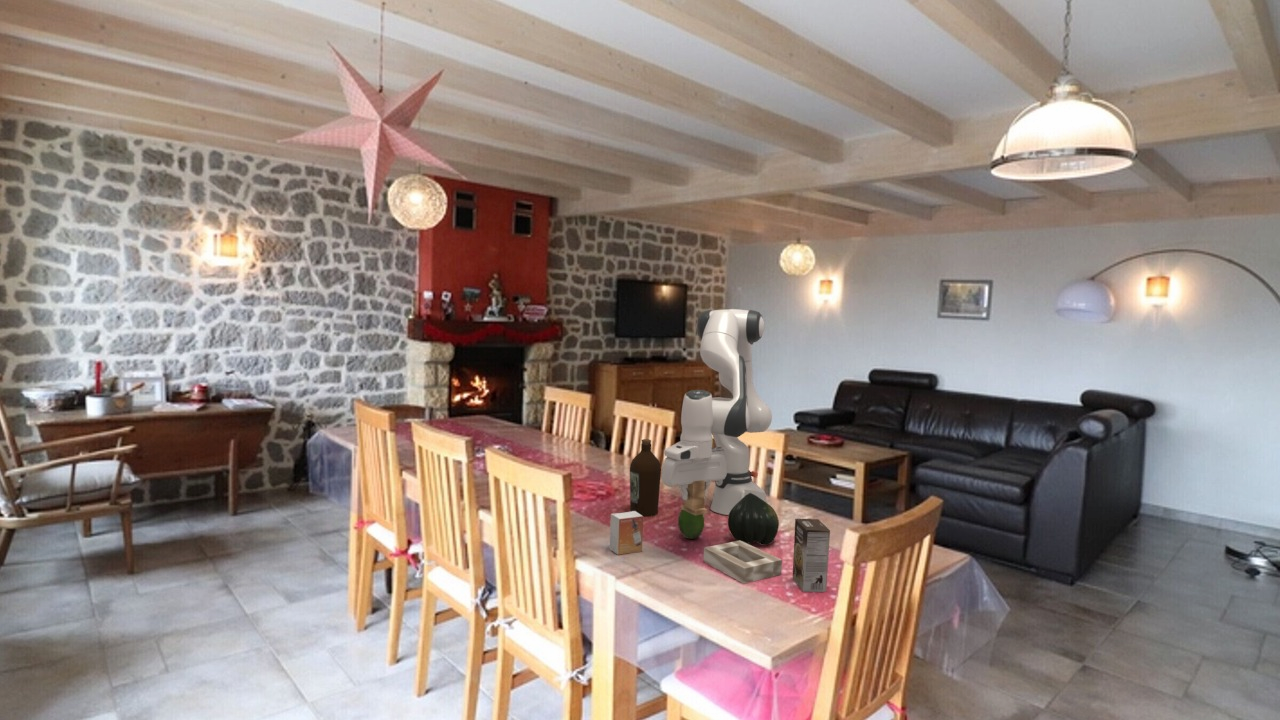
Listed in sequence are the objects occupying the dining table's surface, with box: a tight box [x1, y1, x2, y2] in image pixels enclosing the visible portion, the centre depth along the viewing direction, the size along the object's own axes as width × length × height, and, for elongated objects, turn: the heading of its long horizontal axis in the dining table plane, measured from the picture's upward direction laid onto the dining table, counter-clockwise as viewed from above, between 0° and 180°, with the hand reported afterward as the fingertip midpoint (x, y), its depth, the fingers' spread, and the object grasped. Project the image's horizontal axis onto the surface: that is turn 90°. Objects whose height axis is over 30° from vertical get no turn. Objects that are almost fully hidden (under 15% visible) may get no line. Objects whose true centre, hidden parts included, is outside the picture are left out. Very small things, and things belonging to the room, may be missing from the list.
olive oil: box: [629, 438, 662, 518], centre depth 233 cm, size 11×11×25 cm
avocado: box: [677, 509, 705, 540], centre depth 210 cm, size 8×8×12 cm
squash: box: [727, 493, 780, 546], centre depth 209 cm, size 14×15×15 cm
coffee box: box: [792, 518, 831, 593], centre depth 177 cm, size 9×6×16 cm
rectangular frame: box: [702, 540, 783, 584], centre depth 187 cm, size 13×17×4 cm
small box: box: [609, 511, 644, 556], centre depth 198 cm, size 8×6×10 cm
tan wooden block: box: [680, 480, 708, 515], centre depth 192 cm, size 4×7×9 cm, turn 32°
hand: (694, 498), depth 192 cm, fingers closed on tan wooden block, 4 cm apart
